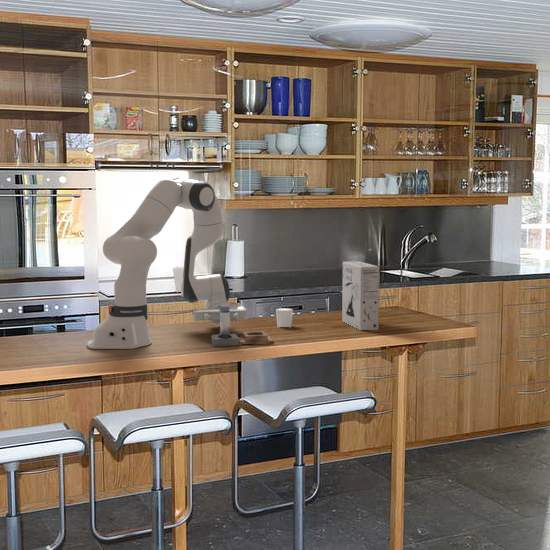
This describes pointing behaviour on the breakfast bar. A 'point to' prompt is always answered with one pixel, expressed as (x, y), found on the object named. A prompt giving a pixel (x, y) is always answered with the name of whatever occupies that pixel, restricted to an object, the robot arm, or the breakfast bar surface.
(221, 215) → the robot arm
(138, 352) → the breakfast bar surface
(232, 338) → the socket
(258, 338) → the rack
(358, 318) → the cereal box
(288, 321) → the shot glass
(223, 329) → the drill rod
